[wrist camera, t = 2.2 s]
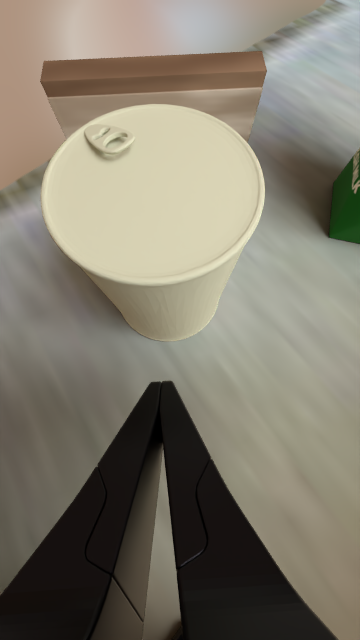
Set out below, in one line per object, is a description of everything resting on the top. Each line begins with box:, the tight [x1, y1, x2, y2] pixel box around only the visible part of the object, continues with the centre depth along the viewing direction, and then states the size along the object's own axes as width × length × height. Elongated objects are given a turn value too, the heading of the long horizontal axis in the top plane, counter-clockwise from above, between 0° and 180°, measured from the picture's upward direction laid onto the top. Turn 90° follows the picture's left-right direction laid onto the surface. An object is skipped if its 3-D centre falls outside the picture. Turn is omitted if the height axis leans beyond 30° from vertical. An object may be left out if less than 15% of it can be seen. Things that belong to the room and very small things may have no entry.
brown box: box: [40, 51, 267, 143], centre depth 21 cm, size 3×18×7 cm, turn 94°
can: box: [41, 104, 265, 341], centre depth 14 cm, size 9×9×12 cm
